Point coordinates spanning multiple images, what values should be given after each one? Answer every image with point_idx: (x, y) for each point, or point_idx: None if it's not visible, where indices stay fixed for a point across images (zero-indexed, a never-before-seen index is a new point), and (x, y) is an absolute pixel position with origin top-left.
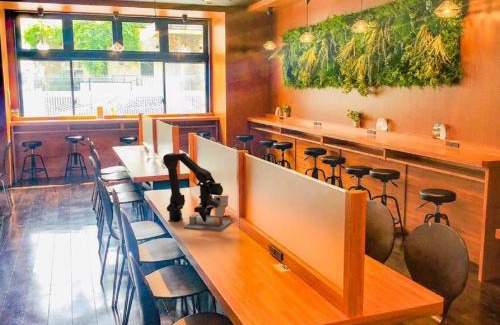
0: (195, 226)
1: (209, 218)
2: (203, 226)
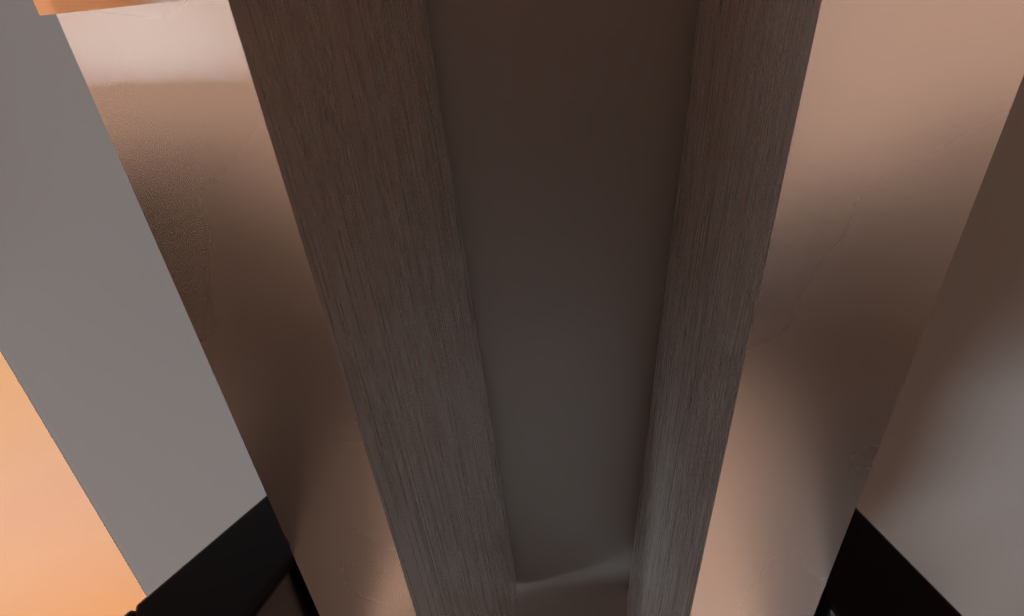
0: (996, 556)
1: (861, 383)
2: (1013, 342)
